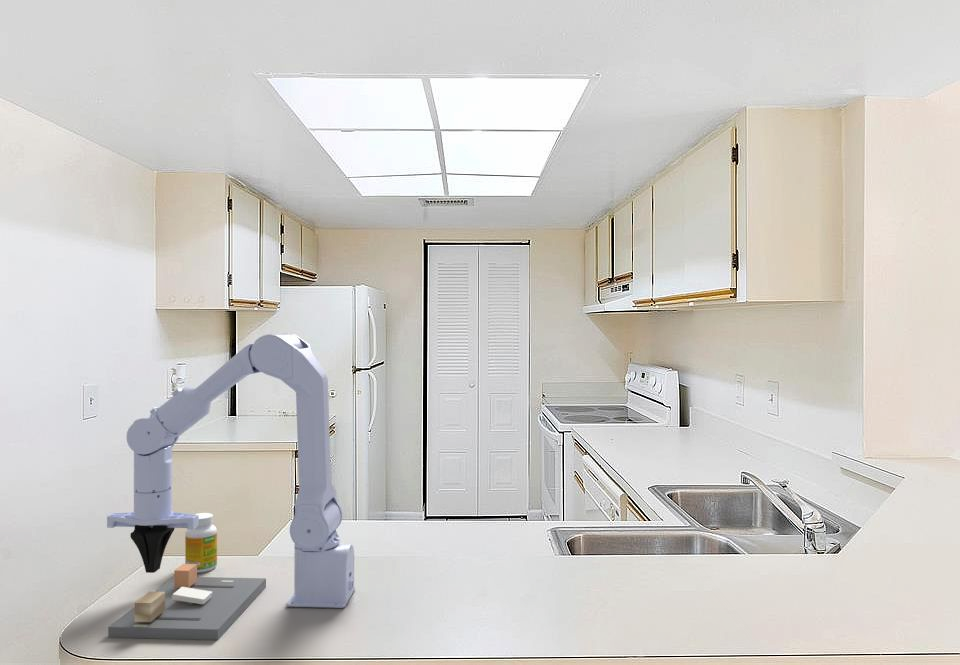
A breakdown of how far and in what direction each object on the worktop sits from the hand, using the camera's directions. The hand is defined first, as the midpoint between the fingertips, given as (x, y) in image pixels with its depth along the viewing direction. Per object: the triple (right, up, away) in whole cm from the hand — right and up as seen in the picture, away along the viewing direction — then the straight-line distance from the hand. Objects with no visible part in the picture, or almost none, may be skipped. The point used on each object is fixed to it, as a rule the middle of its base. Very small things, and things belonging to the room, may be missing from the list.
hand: (153, 570), depth 110 cm
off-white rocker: (+9, -2, -6) cm, 11 cm away
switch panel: (+9, -4, -6) cm, 12 cm away
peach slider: (+6, -2, 0) cm, 6 cm away
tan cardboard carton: (+6, -2, -12) cm, 14 cm away
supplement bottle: (+3, -4, +12) cm, 13 cm away
